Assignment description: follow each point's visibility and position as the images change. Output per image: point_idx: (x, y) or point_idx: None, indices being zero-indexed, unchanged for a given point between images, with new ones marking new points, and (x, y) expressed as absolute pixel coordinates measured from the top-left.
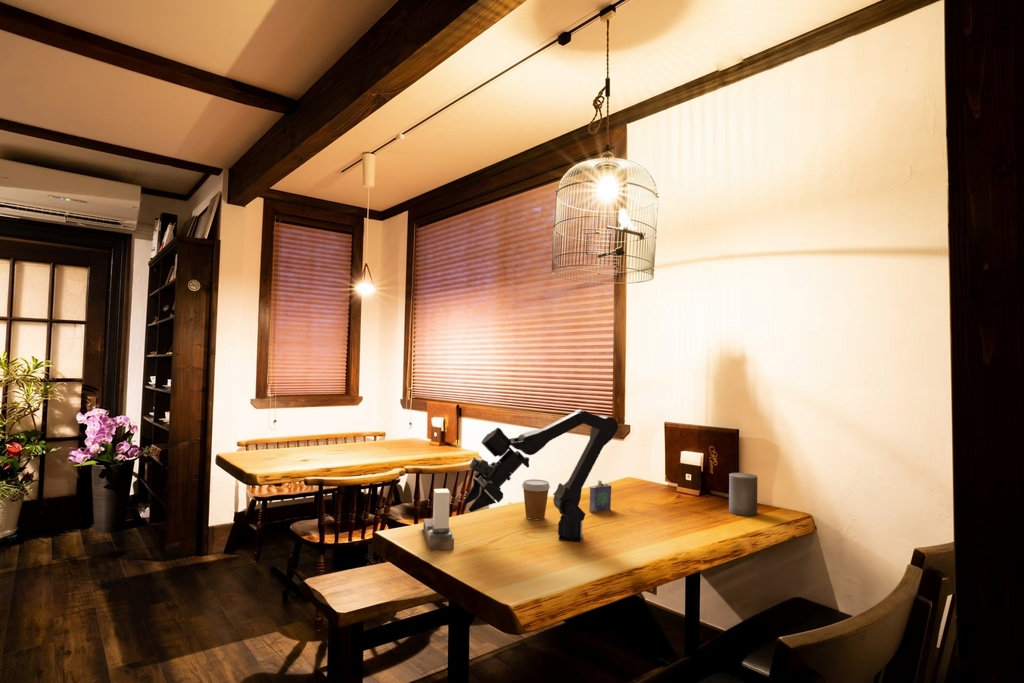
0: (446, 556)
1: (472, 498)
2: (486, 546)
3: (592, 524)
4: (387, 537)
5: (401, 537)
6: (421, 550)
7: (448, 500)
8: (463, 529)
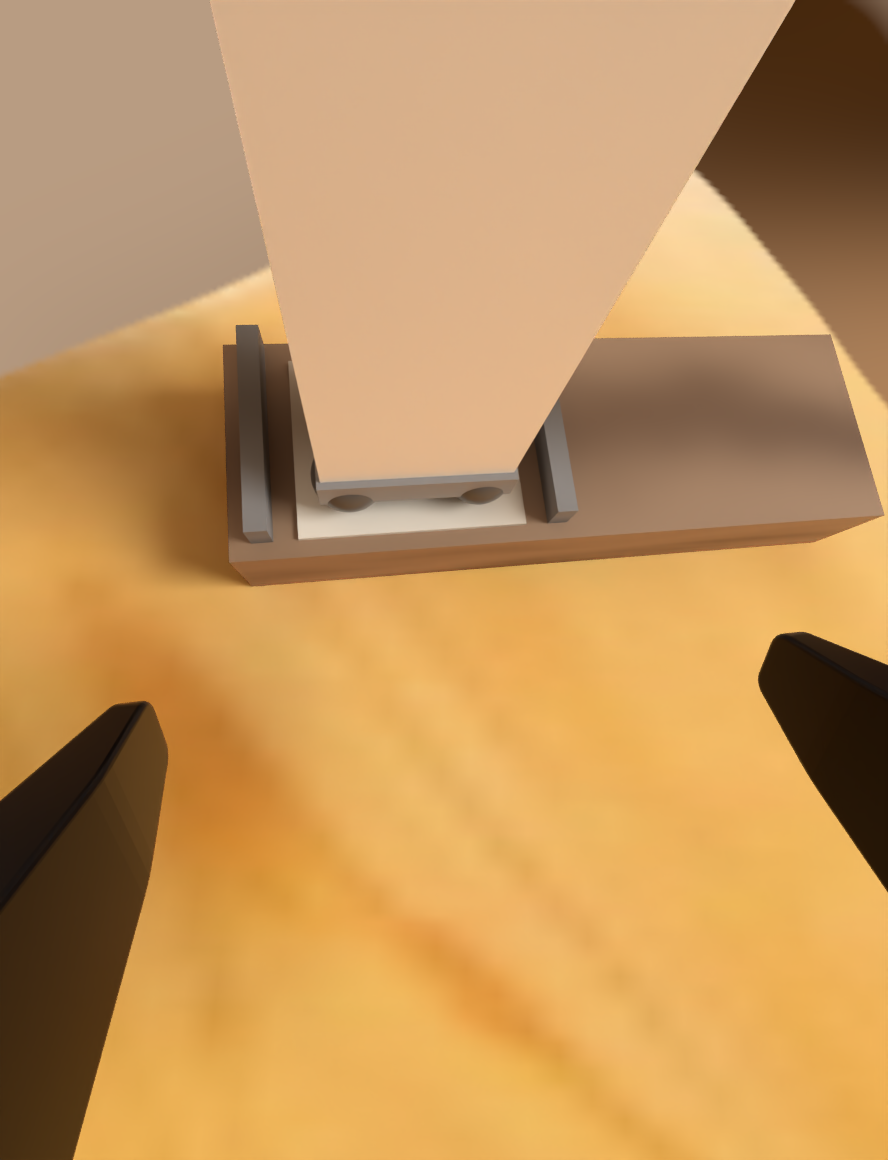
0: (81, 520)
1: (883, 828)
2: (308, 898)
3: None
4: None
5: None
6: None
7: (260, 191)
8: None
